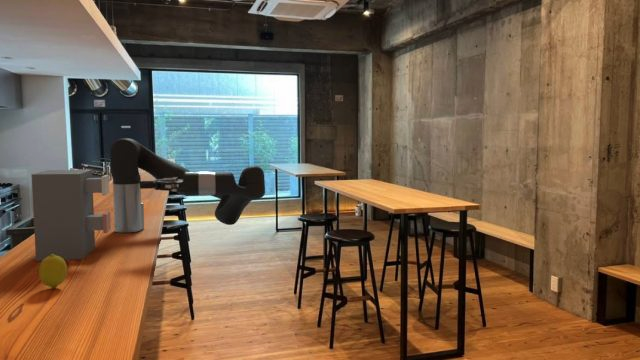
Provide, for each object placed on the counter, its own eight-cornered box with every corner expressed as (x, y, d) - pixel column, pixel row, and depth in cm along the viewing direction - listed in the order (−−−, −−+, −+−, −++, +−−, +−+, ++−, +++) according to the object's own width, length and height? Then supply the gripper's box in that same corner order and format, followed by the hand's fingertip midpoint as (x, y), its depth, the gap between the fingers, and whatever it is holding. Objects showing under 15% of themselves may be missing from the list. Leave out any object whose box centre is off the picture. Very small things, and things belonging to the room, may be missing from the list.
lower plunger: (110, 229, 140) (110, 211, 139) (107, 232, 135) (106, 214, 134) (78, 230, 138) (77, 212, 137) (73, 234, 133) (72, 215, 132)
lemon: (55, 293, 102) (53, 258, 102) (34, 291, 103) (32, 256, 103) (73, 285, 108) (72, 251, 107) (52, 283, 109) (51, 250, 108)
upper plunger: (109, 193, 139) (108, 175, 138) (105, 195, 134) (105, 176, 133) (76, 193, 137) (75, 175, 136) (71, 196, 131) (70, 177, 131)
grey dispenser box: (95, 246, 143) (92, 169, 141) (83, 258, 130) (80, 173, 127) (52, 248, 141) (48, 170, 138) (36, 261, 127) (31, 174, 125)
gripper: (200, 198, 136) (137, 200, 132) (200, 193, 149) (143, 194, 145) (199, 173, 135) (136, 174, 131) (199, 169, 148) (142, 170, 144)
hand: (140, 184), depth 138 cm, fingers closed
